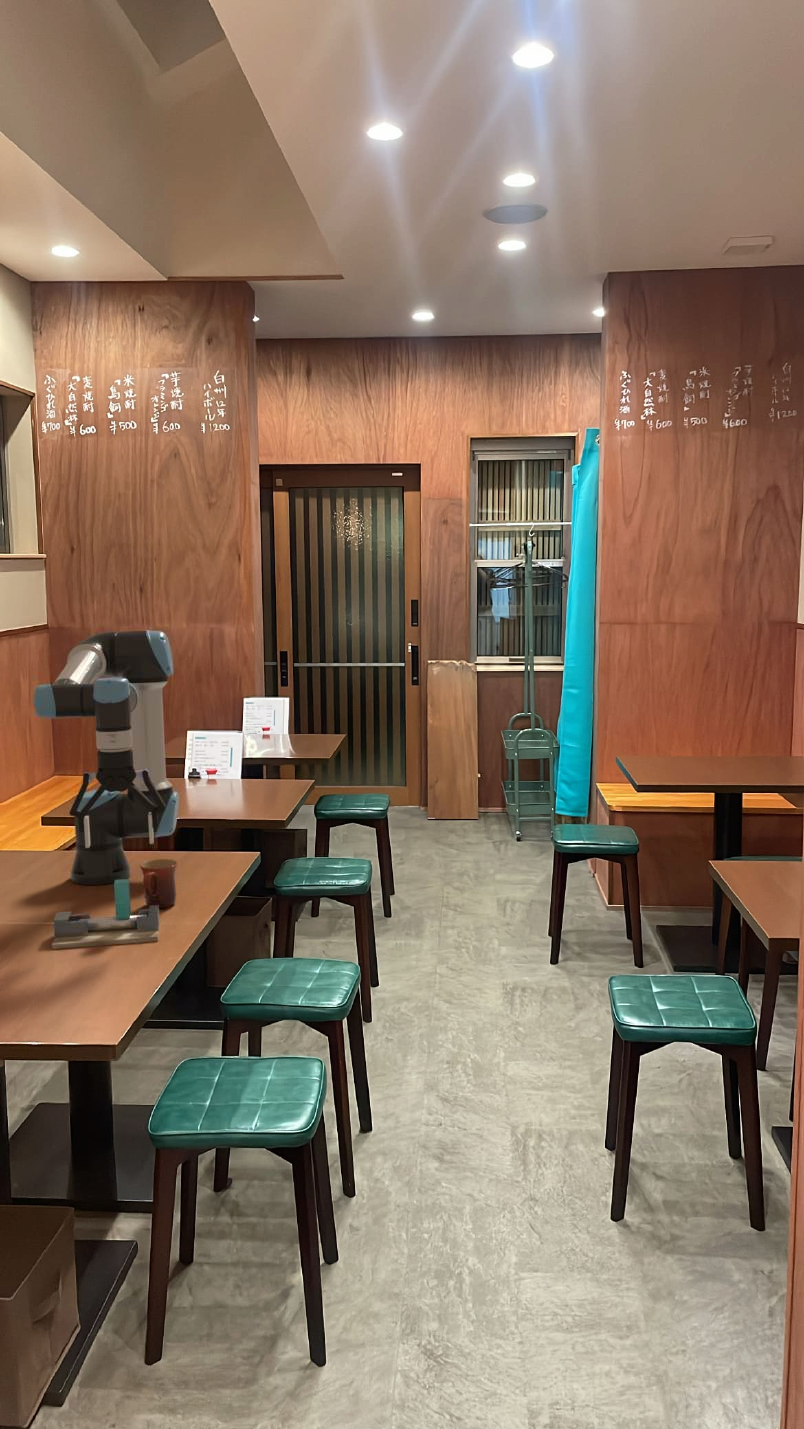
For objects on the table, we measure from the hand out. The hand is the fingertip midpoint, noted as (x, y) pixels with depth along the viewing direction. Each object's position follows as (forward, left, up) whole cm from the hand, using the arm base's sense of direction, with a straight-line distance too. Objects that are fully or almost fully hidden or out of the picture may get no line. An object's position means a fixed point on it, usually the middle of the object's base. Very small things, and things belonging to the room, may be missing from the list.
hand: (120, 844), depth 235 cm
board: (0, -4, -20) cm, 21 cm away
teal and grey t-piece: (0, -2, -19) cm, 19 cm away
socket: (0, +5, -19) cm, 20 cm away
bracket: (0, -11, -19) cm, 22 cm away
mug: (-18, +6, -20) cm, 28 cm away
